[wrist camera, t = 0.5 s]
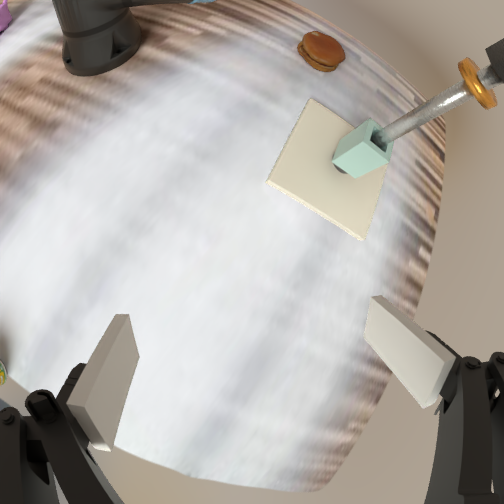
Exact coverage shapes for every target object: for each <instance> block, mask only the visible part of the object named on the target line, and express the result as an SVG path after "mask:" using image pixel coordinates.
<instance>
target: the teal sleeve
mask: <svg viewBox="0 0 504 504" xmlns="http://www.w3.org/2000/svg"><path fill="white" fill-rule="evenodd" d="M381 129H383V128H382V127H381V126H380V125H379V124H377V123H376V122H375V121H374V120H372V119H371V118H369V119H368V120H366V121H365V122H364V123H362V124H361V125H360V126H358V127H357V128H356V129H354V130H353V131H351V132H350V133H349V134H347V135H346V136H345V137H343V138H342V139H341V140H340V141H339V144H338V147H337V149H336V152H335V154H334V157H333V159H332V163H334V164H335V165H337V166H338V167H340V168H341V169H342V170H344V171H345V172H347V173H348V174H350V175H351V176H352V177H354V178H355V179H356V178H358V177H360V176H362V175H364V174H366V173H368V172H370V171H372V170H374V169H376V168H378V167H380V166H382V165H385V164H387V163H389V161H390V157H391V153H392V148H393V144H394V141H392V142H390V143H388V144H387V145H385V146H383V147H381V148H379V147H377V146H376V145H375V144H374V143H372V142H371V141H370V138H371V136H372V135H373V134H375V133H377V132H378V131H380V130H381Z"/></svg>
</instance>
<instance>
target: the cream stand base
mask: <svg viewBox="0 0 504 504" xmlns="http://www.w3.org/2000/svg"><path fill="white" fill-rule="evenodd" d="M354 129H356V128H354V127H353V126H352V125H350V124H349V123H347V122H346V121H345V120H343V119H342V118H340V117H339V116H337V115H336V114H335V113H333V112H332V111H330V110H329V109H327V108H326V107H324V106H323V105H321V104H319V103H318V102H316V101H315V100H313V99H312V98H310V99H309V101H308V102H307V103H306V105H305V107H304V109H303V111H302V113H301V115H300V117H299V118H298V120H297V122H296V124H295V126H294V128H293V130H292V132H291V134H290V136H289V138H288V139H287V141H286V143H285V145H284V147H283V149H282V151H281V153H280V155H279V157H278V159H277V161H276V163H275V165H274V167H273V169H272V171H271V173H270V174H269V176H268V178H267V180H266V182H265V183H267V184H268V185H270V186H272V187H274V188H275V189H277V190H279V191H281V192H282V193H284V194H286V195H287V196H289V197H291V198H293V199H294V200H296V201H298V202H299V203H301V204H303V205H304V206H306V207H308V208H309V209H311V210H312V211H314V212H316V213H317V214H319V215H321V216H322V217H324V218H325V219H327V220H328V221H330V222H332V223H333V224H335V225H336V226H338V227H339V228H341V229H343V230H344V231H346V232H347V233H349V234H350V235H352V236H353V237H355V238H356V239H358V240H359V241H361V240H365V238H366V235H367V232H368V229H369V226H370V223H371V220H372V217H373V214H374V211H375V207H376V204H377V201H378V197H379V194H380V190H381V187H382V183H383V179H384V176H385V172H386V168H387V164H388V163H387V164H385V165H382V166H380V167H378V168H376V169H374V170H372V171H370V172H368V173H366V174H364V175H362V176H360V177H358V178H356V179H355V178H354V177H352V176H351V175H350V174H343V173H341V172H339V171H338V170H337V169H336V168H335V166H334V164H333V163H332V156H333V154H334V152H336V149H337V147H338V144H339V141H340V140H341V139H342V138H343V137H345V136H346V135H347V134H349V133H350V132H351V131H353V130H354Z"/></svg>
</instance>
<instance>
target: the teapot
mask: <svg viewBox="0 0 504 504" xmlns="http://www.w3.org/2000/svg"><path fill="white" fill-rule="evenodd" d="M11 20H12V17H11V15H10V12H9V10H8V6H7V0H4V1H3V4H1V5H0V32H1V31H2V30H5V29H6V28H7V27H8V25H7V24H8V23H9V22H10V21H11Z"/></svg>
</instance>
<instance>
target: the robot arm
mask: <svg viewBox="0 0 504 504" xmlns="http://www.w3.org/2000/svg"><path fill="white" fill-rule="evenodd" d="M213 1H216V0H52V2H53V5H54V8H55V11H56V14H57V17H58V20H59V23H60V26H61V29H62V32H63V48H62V59H63V62H64V65H65V67H66V69H67V70H68V71H69V72H70V73H71V74H73V75H77V76H93V75H98V74H101V73H104V72H107V71H109V70H112V69H114V68H116V67H118V66H119V65H121V64H123V63H124V62H125V61H127V60H128V59H129V58H130V57H131V56H133V54H134V53H135V52H136V51H137V50H138V48H139V46H140V44H141V29H140V26H139V24H138V22H137V21H136V19H135V17H134V16H133V14H132V13H131V11H130V9H129V7H133V6H142V5H154V4H171V3H187V4H193V3H201V2H213ZM363 338H364V339H365V340H366V341H367V342H368V343H369V345H370V346H371V347H372V348H373V349H374V350H375V352H376V353H377V354H378V355H379V356H380V358H381V359H382V360H383V361H384V362H385V363H386V365H387V366H388V367H389V368H390V369H391V371H392V372H393V373H394V374H395V375H396V377H397V378H398V379H399V380H400V381H401V383H402V384H403V385H404V386H405V387H406V388H407V390H408V391H409V392H410V393H411V394H412V396H413V397H414V398H415V399H416V401H417V402H418V403H419V404H420V405H421V407H422V408H425V407H427V406H430V405H432V404H434V403H435V401H436V399H437V397H438V395H439V394H440V395H441V396H442V397H443V399H442V401H441V402H440V404H439V406H438V408H437V410H436V411H435V415H436V414H437V413H438V411H439V410H440V414H439V415H440V416H439V427H438V436H437V444H436V451H435V457H434V463H433V468H432V473H431V478H430V483H429V487H428V491H427V495H426V499H425V503H424V504H504V353H502V352H495V353H493V354H492V355H491V358H490V360H489V361H488V362H483V363H482V362H480V360H478V359H477V358H475V357H471V356H469V357H468V356H467V357H463V358H462V357H461V356H460V355H458V354H457V353H456V352H455V351H454V350H453V349H451V348H450V347H449V346H448V345H445V343H444V342H443V341H441V339H440V338H438V337H437V336H436V335H435V334H433V333H431V332H429V331H425V330H423V329H422V328H421V327H420V326H419V325H418V324H416V323H415V322H414V321H413V320H412V319H410V318H409V317H408V316H407V315H405V314H404V313H403V312H402V311H401V310H399V309H398V308H397V307H396V306H394V305H393V304H392V303H391V302H389V301H388V300H387V299H386V298H384V297H383V296H382V295H380V296H373V297H371V299H370V305H369V310H368V316H367V321H366V326H365V331H364V336H363ZM138 360H139V353H138V349H137V346H136V342H135V338H134V334H133V330H132V326H131V321H130V317H129V314H116V315H115V316H114V318H113V320H112V321H111V323H110V325H109V326H108V328H107V330H106V331H105V333H104V335H103V336H102V338H101V340H100V341H99V343H98V345H97V347H96V348H95V350H94V352H93V354H92V356H91V357H90V359H89V361H88V363H87V364H84V363H79V364H78V365H77V366H76V367H74V368H73V369H72V371H71V372H70V374H69V376H68V379H66V381H65V383H64V385H63V386H62V388H61V390H60V392H59V394H58V395H57V397H56V399H55V397H54V395H53V394H52V392H50V391H48V390H43V389H41V390H36V391H34V392H32V393H31V394H30V395H29V396H28V397H27V399H26V401H25V407H26V408H27V410H28V411H29V413H30V414H31V416H21V414H20V413H19V411H18V410H17V409H16V408H14V407H7V408H4V409H3V410H1V411H0V504H59V500H58V495H57V490H56V486H55V480H54V476H53V472H54V474H55V476H56V478H57V481H58V483H59V485H60V487H61V489H62V491H63V493H64V495H65V497H66V499H67V501H68V503H69V504H124V503H123V501H122V500H121V499H120V497H119V496H118V494H117V493H116V492H115V490H114V489H113V487H112V486H111V484H110V483H109V482H108V480H107V479H106V477H105V476H104V474H103V472H102V471H101V469H100V468H99V466H98V464H97V463H96V461H95V459H94V458H93V456H92V454H91V452H90V451H89V450H88V448H87V447H88V444H89V441H90V442H91V444H92V445H93V446H94V448H95V449H100V450H106V451H112V449H113V445H114V441H115V437H116V433H117V429H118V426H119V422H120V418H121V415H122V411H123V408H124V405H125V401H126V398H127V395H128V391H129V388H130V385H131V382H132V379H133V375H134V372H135V369H136V366H137V363H138ZM497 389H499V391H500V394H499V396H498V397H497V398H496V397H495V393H496V391H497ZM492 480H493V487H494V493H492V492H491V484H492Z"/></svg>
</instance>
